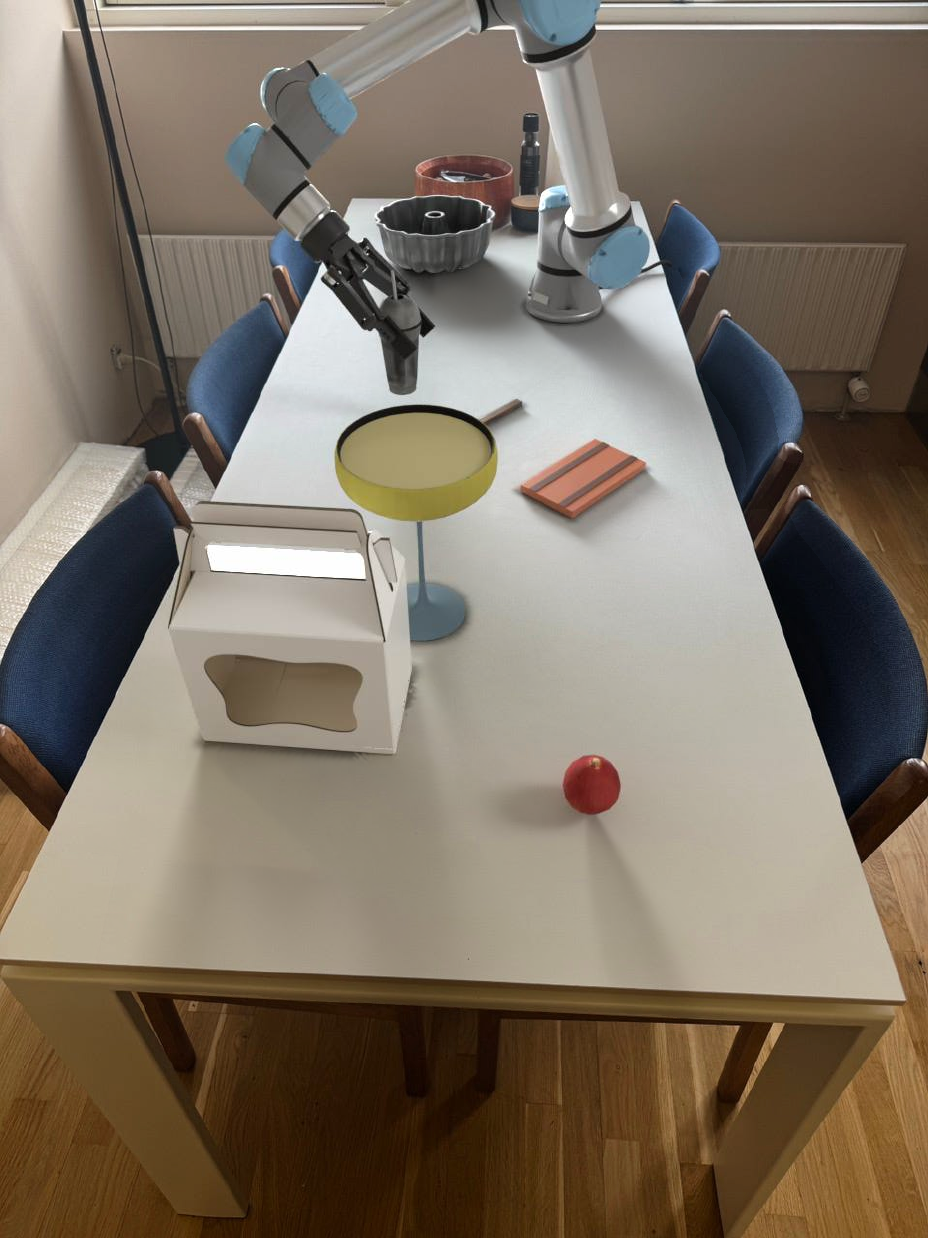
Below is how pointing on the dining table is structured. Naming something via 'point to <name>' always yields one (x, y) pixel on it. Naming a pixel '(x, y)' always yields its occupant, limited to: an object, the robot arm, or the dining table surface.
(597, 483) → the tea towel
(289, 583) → the gable box
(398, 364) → the beverage cup
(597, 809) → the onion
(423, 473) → the cocktail glass
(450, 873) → the dining table surface
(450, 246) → the bundt pan
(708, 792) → the dining table surface
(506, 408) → the spatula
